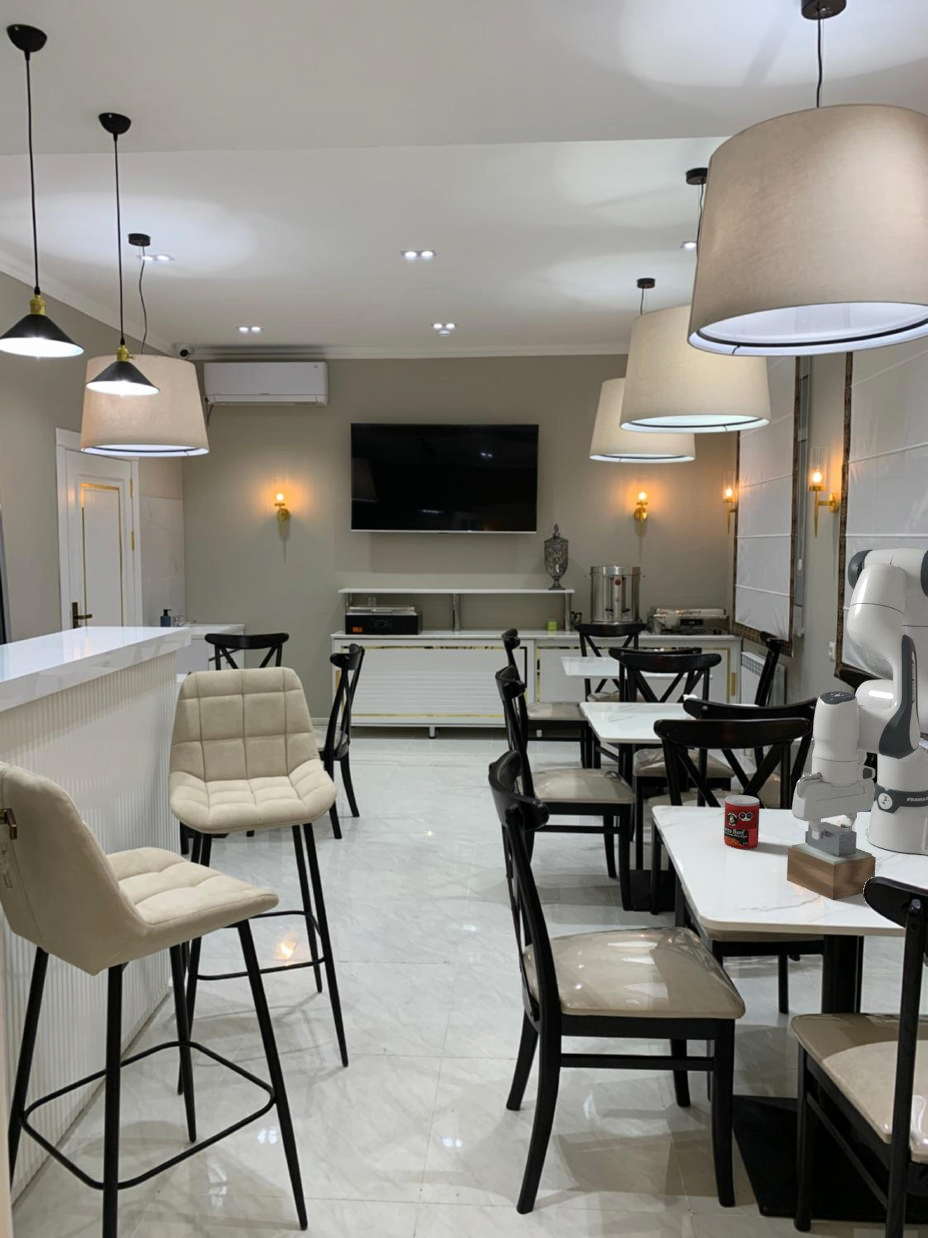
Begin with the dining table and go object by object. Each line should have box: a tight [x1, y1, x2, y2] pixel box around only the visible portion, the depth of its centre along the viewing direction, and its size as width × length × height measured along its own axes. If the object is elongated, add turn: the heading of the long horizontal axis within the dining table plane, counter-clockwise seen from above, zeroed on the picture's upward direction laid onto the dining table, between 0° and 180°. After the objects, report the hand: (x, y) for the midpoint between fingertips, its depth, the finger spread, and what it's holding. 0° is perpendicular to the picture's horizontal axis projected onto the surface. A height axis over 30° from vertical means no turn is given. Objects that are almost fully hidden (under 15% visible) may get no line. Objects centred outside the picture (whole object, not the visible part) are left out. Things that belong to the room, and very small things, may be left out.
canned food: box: [723, 794, 761, 850], centre depth 211 cm, size 8×8×11 cm
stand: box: [786, 842, 877, 901], centre depth 185 cm, size 12×12×8 cm
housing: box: [804, 821, 858, 857], centre depth 185 cm, size 10×5×4 cm, turn 26°
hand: (832, 836), depth 185 cm, fingers open, 7 cm apart
